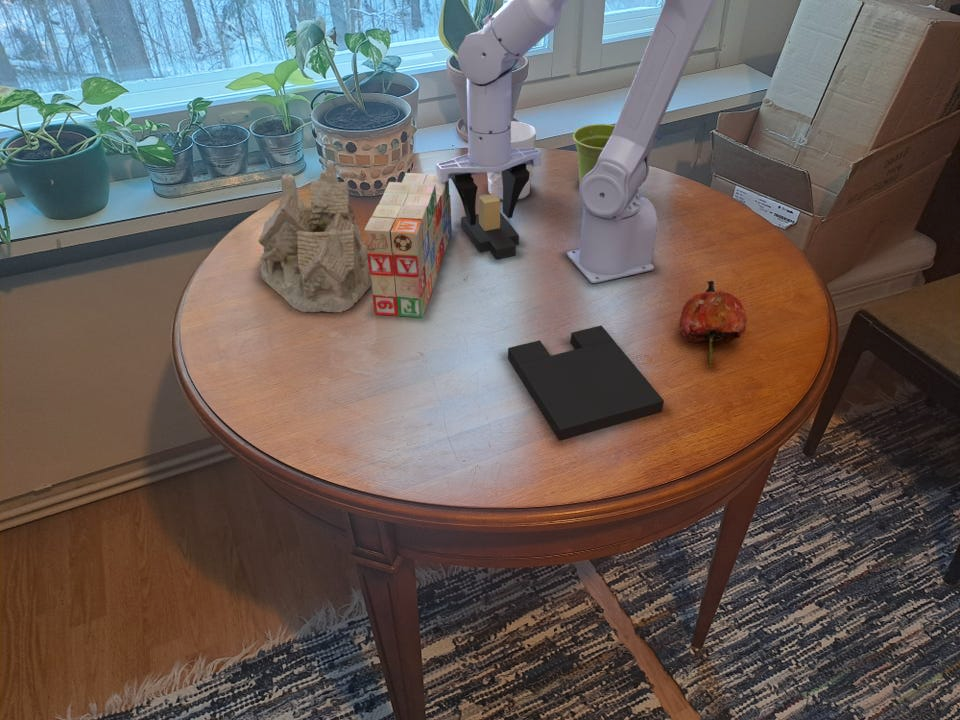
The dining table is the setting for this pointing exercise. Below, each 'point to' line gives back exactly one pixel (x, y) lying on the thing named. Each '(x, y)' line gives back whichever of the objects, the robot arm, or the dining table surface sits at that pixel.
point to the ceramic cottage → (315, 247)
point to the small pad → (491, 229)
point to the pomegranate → (713, 317)
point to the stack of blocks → (408, 243)
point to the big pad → (584, 383)
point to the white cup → (520, 138)
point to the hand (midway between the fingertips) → (489, 218)
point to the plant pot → (591, 145)
